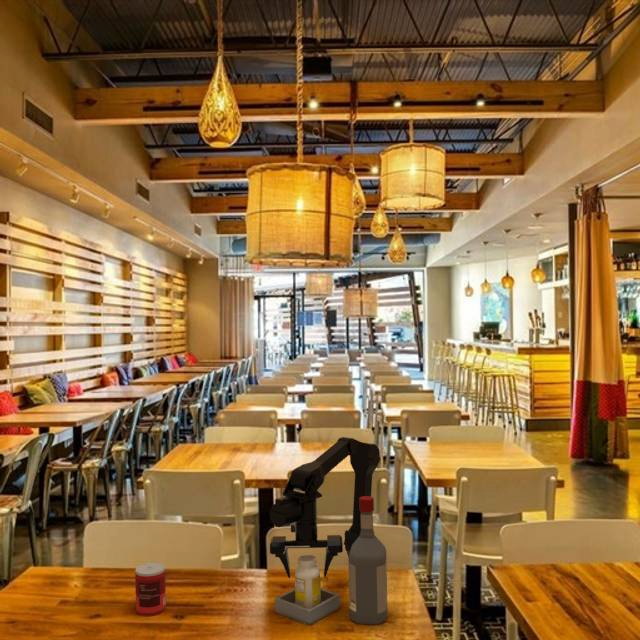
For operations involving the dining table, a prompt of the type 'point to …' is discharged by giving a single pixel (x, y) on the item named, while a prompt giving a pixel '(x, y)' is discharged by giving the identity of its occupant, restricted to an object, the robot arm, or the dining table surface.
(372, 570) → the liquor
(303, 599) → the supplement bottle
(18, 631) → the dining table surface
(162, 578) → the canned food
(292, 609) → the tray
